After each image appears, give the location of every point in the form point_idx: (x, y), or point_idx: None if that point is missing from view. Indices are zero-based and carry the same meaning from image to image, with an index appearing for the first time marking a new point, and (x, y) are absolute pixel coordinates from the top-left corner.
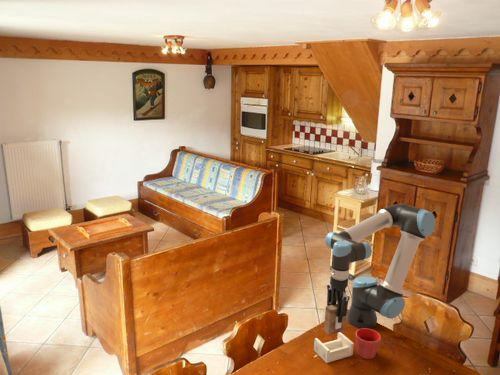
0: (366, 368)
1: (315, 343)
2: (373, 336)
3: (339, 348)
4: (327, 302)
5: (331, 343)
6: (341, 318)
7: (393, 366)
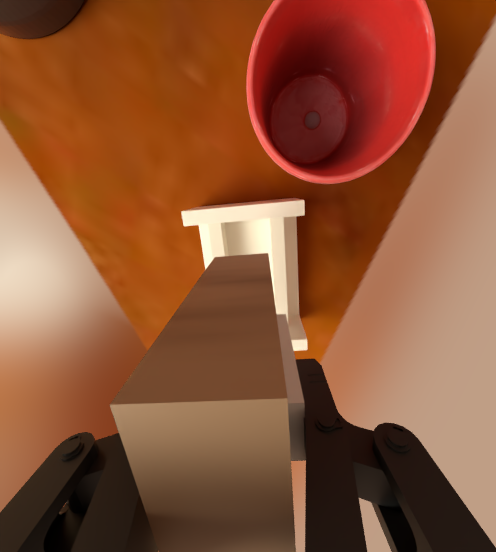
0: (393, 191)
1: None
2: (308, 17)
3: (276, 263)
4: (58, 546)
5: None
6: (330, 403)
7: (451, 39)
